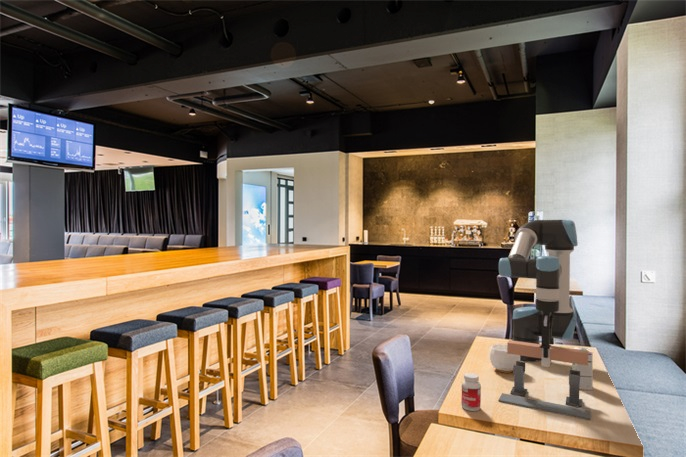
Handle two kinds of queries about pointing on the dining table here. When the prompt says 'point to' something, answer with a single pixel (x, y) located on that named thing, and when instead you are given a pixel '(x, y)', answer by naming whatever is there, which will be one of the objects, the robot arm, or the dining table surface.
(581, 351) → the rail
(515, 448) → the dining table surface
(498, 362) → the cup
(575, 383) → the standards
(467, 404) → the pill bottle
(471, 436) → the dining table surface
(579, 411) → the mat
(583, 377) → the syrup box
